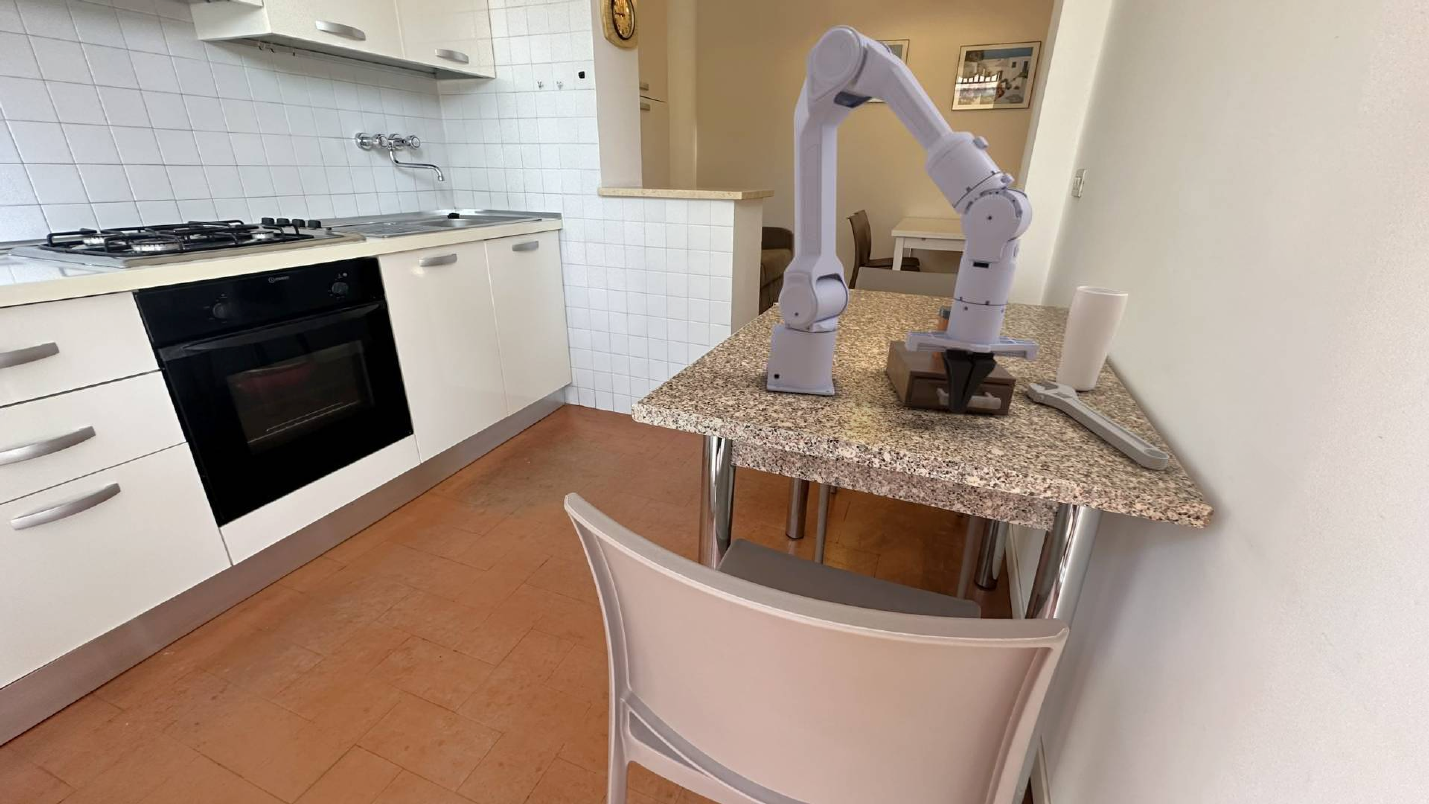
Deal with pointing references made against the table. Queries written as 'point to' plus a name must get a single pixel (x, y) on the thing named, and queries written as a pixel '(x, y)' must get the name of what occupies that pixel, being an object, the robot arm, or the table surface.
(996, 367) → the cabinet
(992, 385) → the drawer
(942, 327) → the spice jar
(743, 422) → the table surface
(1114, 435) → the adjustable wrench
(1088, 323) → the drinking glass
